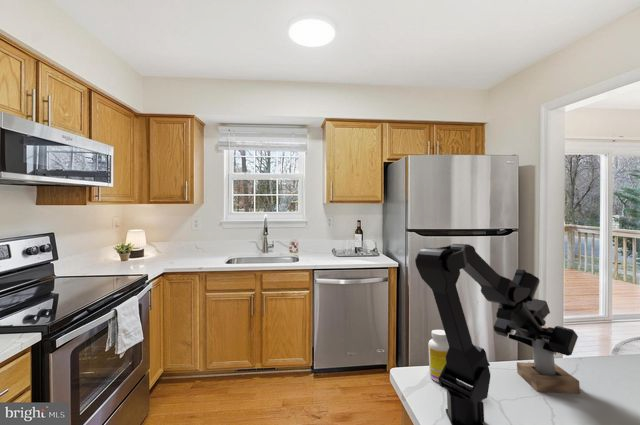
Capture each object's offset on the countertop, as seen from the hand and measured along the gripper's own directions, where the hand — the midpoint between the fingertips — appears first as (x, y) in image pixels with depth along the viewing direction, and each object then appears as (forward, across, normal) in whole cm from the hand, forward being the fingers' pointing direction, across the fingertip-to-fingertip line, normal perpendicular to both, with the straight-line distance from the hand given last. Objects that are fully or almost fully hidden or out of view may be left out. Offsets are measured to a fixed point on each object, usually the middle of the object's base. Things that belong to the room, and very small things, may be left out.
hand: (545, 349), depth 85 cm
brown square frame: (+5, 0, +7) cm, 8 cm away
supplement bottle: (-11, +15, +23) cm, 29 cm away
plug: (+5, 0, +7) cm, 8 cm away
